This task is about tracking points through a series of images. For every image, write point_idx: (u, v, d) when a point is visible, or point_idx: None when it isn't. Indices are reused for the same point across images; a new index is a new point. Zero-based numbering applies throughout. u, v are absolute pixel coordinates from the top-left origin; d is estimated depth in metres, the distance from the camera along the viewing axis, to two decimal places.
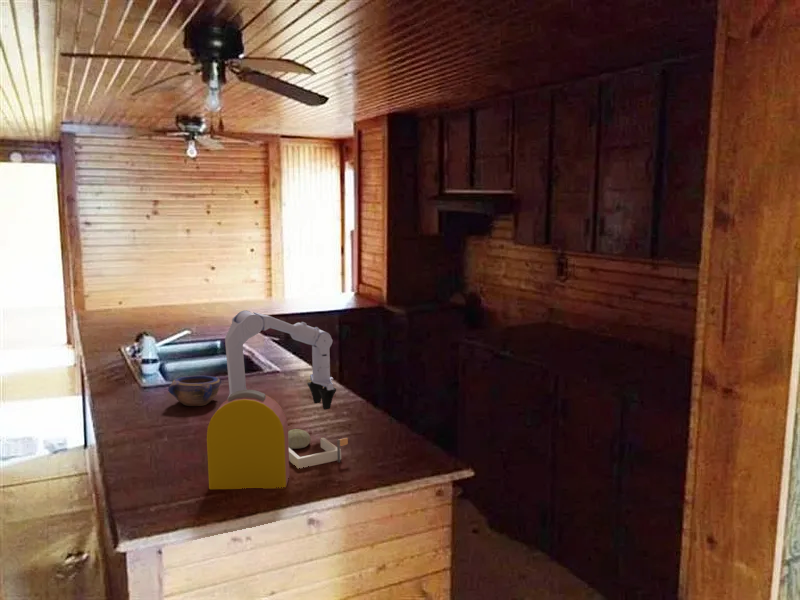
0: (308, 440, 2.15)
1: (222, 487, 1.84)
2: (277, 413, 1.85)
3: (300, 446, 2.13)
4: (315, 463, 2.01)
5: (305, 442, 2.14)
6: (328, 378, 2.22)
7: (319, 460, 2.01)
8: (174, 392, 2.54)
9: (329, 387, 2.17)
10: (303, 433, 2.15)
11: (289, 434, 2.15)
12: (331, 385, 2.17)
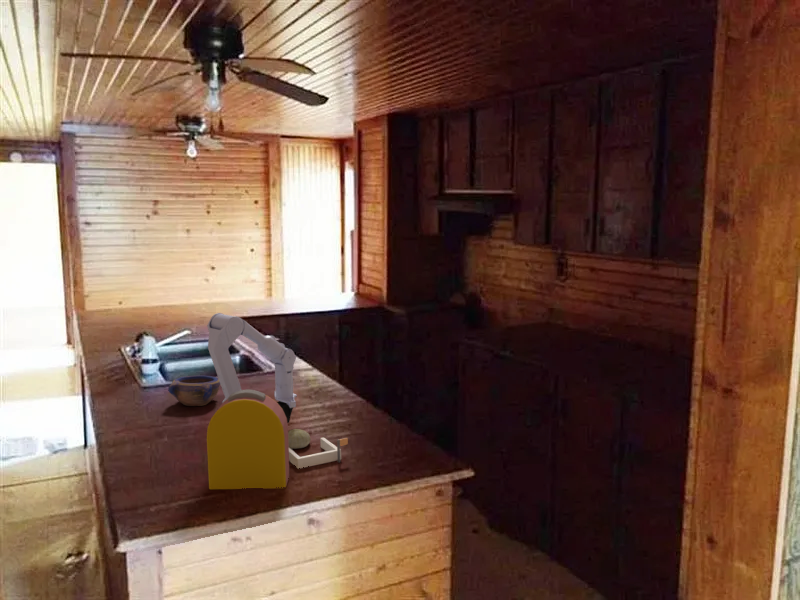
0: (308, 440, 2.15)
1: (222, 487, 1.84)
2: (277, 413, 1.85)
3: (300, 446, 2.13)
4: (315, 463, 2.01)
5: (305, 442, 2.14)
6: (291, 395, 2.22)
7: (319, 460, 2.01)
8: (174, 392, 2.54)
9: (291, 405, 2.17)
10: (303, 433, 2.15)
11: (289, 434, 2.15)
12: (293, 403, 2.17)
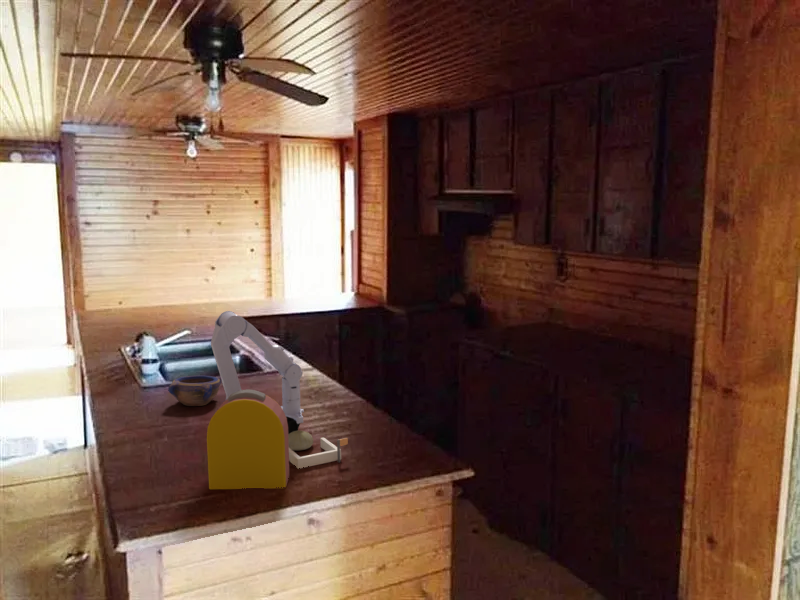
0: (311, 442, 2.13)
1: (222, 487, 1.84)
2: (277, 413, 1.85)
3: (303, 448, 2.11)
4: (315, 463, 2.01)
5: (308, 444, 2.12)
6: (298, 410, 2.17)
7: (319, 460, 2.01)
8: (174, 392, 2.54)
9: (299, 420, 2.12)
10: (306, 435, 2.14)
11: (292, 436, 2.13)
12: (301, 418, 2.13)
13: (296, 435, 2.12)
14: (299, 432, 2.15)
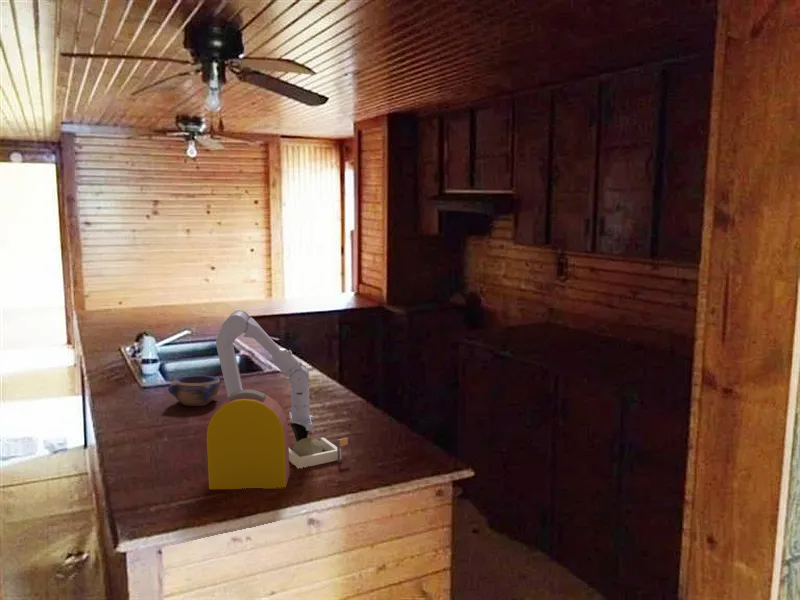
0: (321, 449, 2.07)
1: (222, 487, 1.84)
2: (277, 413, 1.85)
3: None
4: (315, 463, 2.01)
5: (318, 451, 2.05)
6: (307, 417, 2.11)
7: (319, 460, 2.01)
8: (174, 392, 2.54)
9: (308, 427, 2.06)
10: (315, 442, 2.07)
11: (301, 443, 2.06)
12: (310, 425, 2.06)
13: (305, 442, 2.06)
14: (308, 439, 2.08)
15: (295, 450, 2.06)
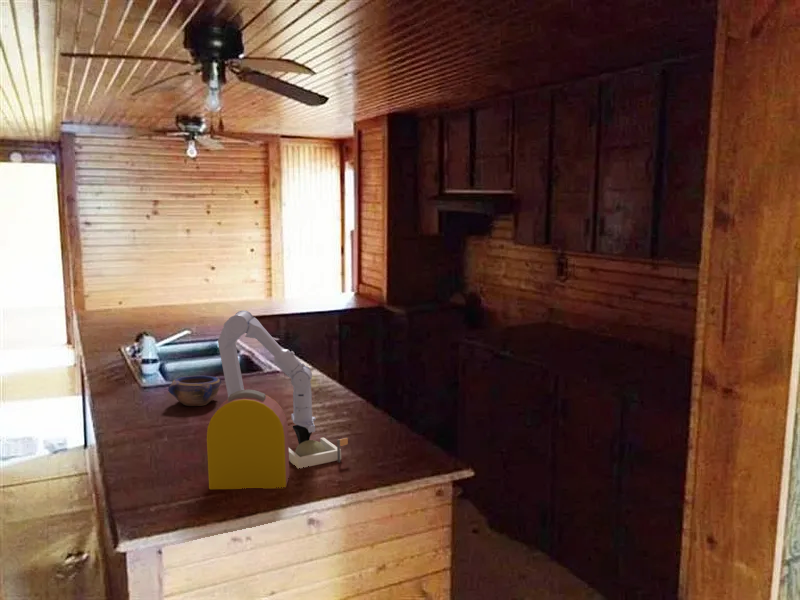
0: None
1: (222, 487, 1.84)
2: (277, 413, 1.84)
3: None
4: (315, 463, 2.01)
5: None
6: (310, 419, 2.09)
7: (319, 460, 2.01)
8: (174, 392, 2.54)
9: (310, 429, 2.04)
10: (318, 445, 2.05)
11: (303, 446, 2.05)
12: (313, 427, 2.05)
13: (308, 445, 2.04)
14: (311, 442, 2.07)
15: (297, 453, 2.04)
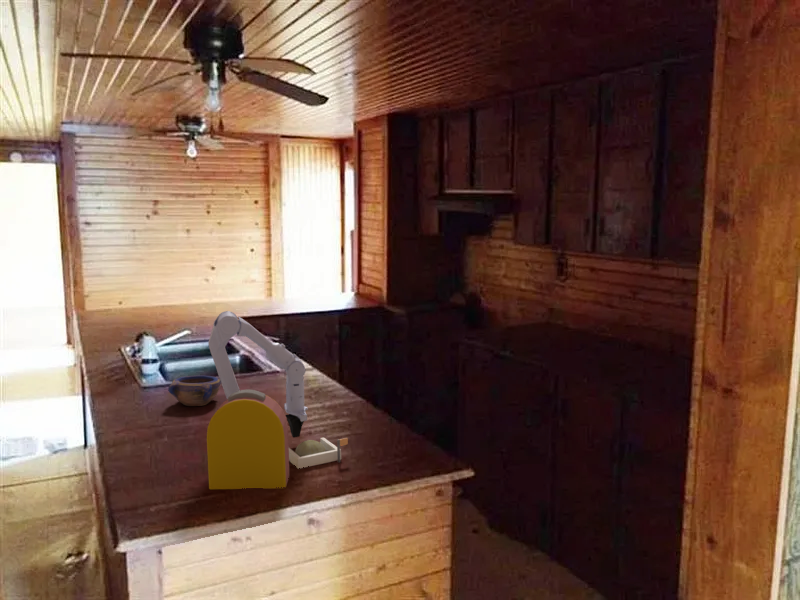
0: None
1: (222, 487, 1.84)
2: (277, 413, 1.85)
3: None
4: (315, 463, 2.01)
5: None
6: (302, 408, 2.14)
7: (319, 460, 2.01)
8: (174, 392, 2.54)
9: (302, 418, 2.09)
10: (318, 444, 2.05)
11: (303, 446, 2.05)
12: (305, 416, 2.09)
13: (308, 445, 2.04)
14: (311, 442, 2.07)
15: (297, 453, 2.04)
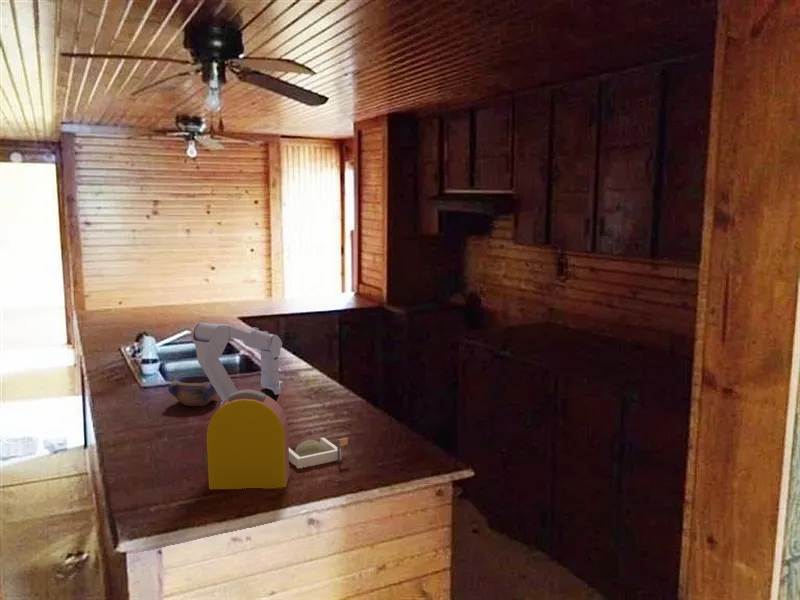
0: None
1: (222, 487, 1.84)
2: (277, 413, 1.85)
3: None
4: (315, 463, 2.01)
5: None
6: (277, 382, 2.20)
7: (319, 460, 2.01)
8: (174, 392, 2.54)
9: (276, 391, 2.15)
10: (318, 444, 2.05)
11: (303, 446, 2.05)
12: (278, 389, 2.15)
13: (308, 445, 2.04)
14: (311, 442, 2.07)
15: (297, 453, 2.04)
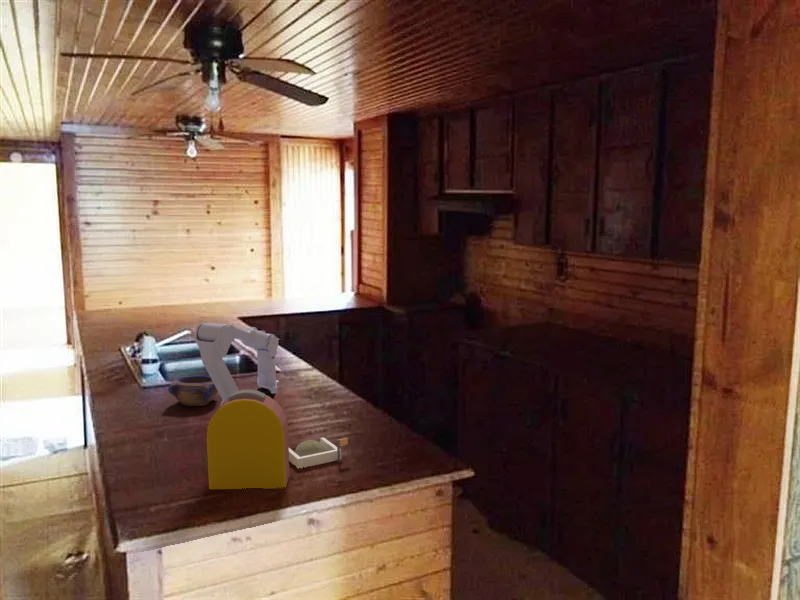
0: None
1: (222, 487, 1.84)
2: (277, 413, 1.84)
3: None
4: (315, 463, 2.01)
5: None
6: (273, 381, 2.21)
7: (319, 460, 2.01)
8: (174, 392, 2.54)
9: (273, 390, 2.16)
10: (317, 444, 2.05)
11: (303, 446, 2.05)
12: (275, 388, 2.16)
13: (307, 445, 2.04)
14: (310, 442, 2.07)
15: (297, 453, 2.04)
